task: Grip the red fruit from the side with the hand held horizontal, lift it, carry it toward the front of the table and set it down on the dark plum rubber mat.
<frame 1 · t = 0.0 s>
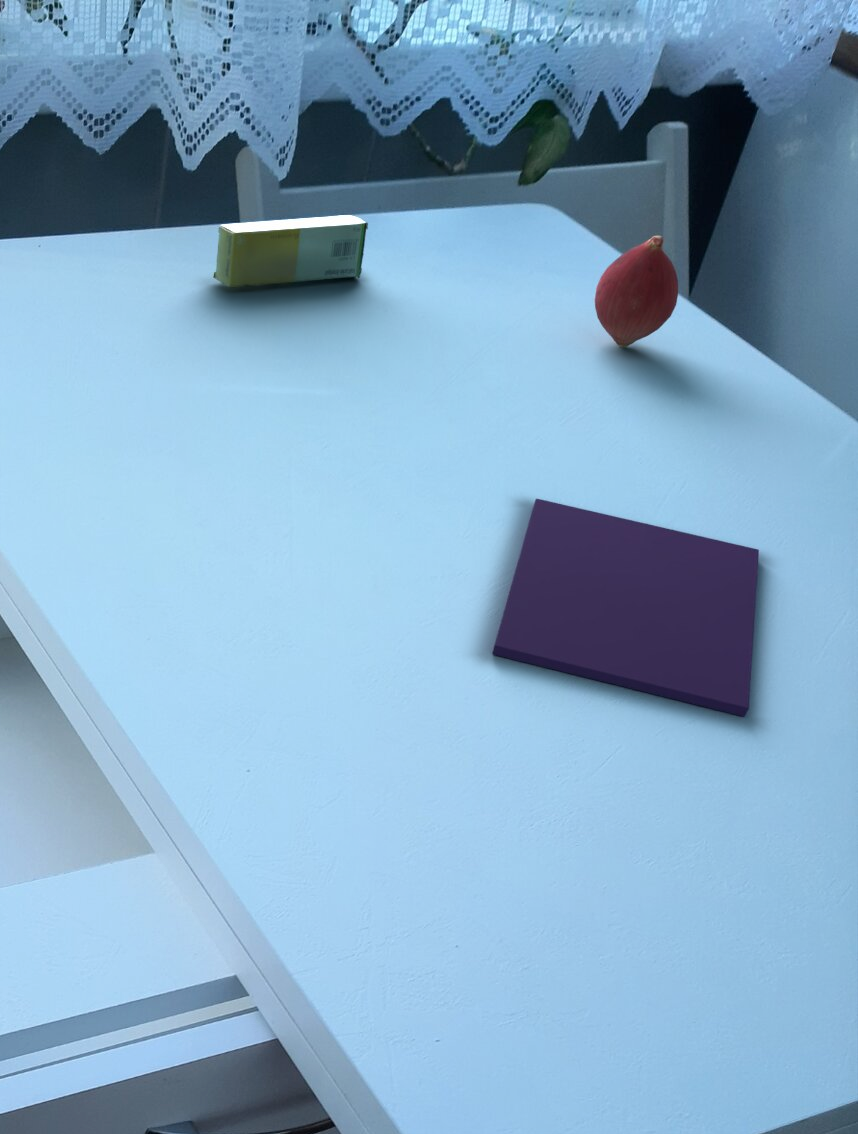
mat: (630, 603, 90), on the table
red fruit: (619, 347, 115), on the table
medication box: (286, 282, 119), on the table
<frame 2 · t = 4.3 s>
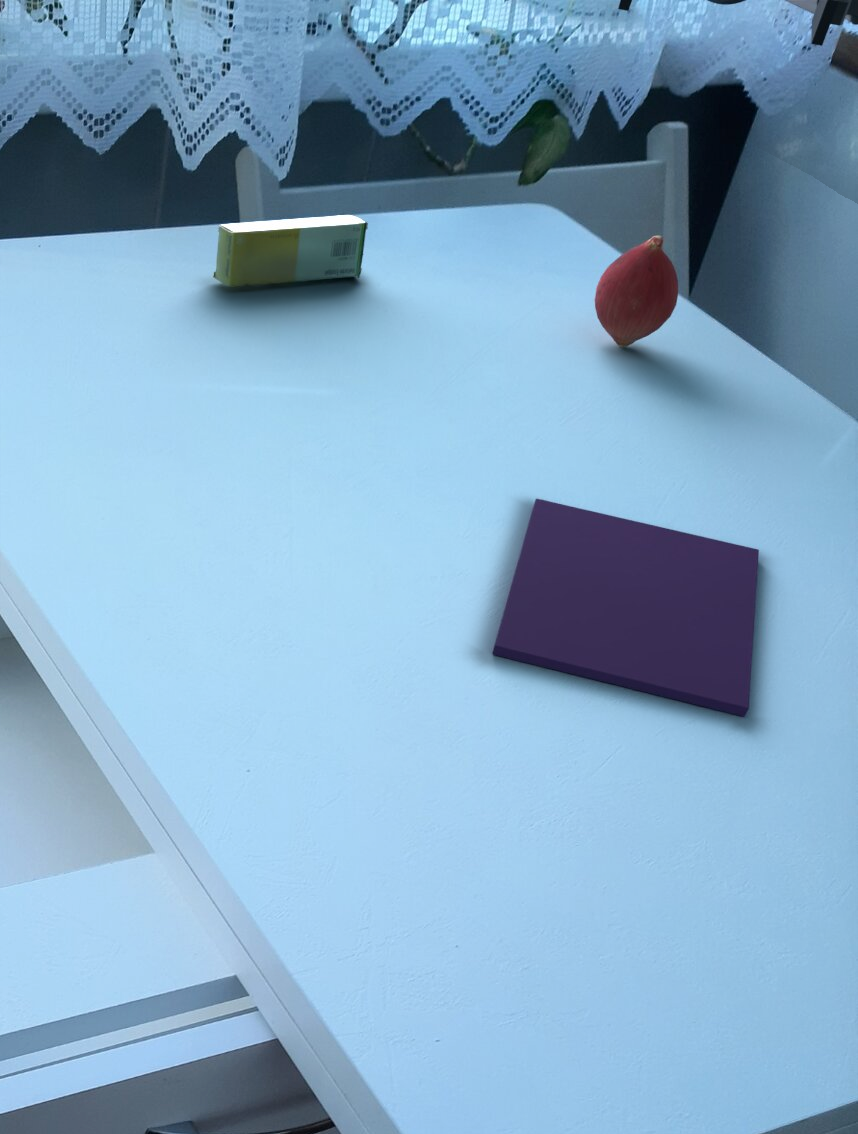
hand: (726, 5, 107), 20 cm above the table, tool horizontal, fingers open, 13 cm apart
nothing on the table moved.
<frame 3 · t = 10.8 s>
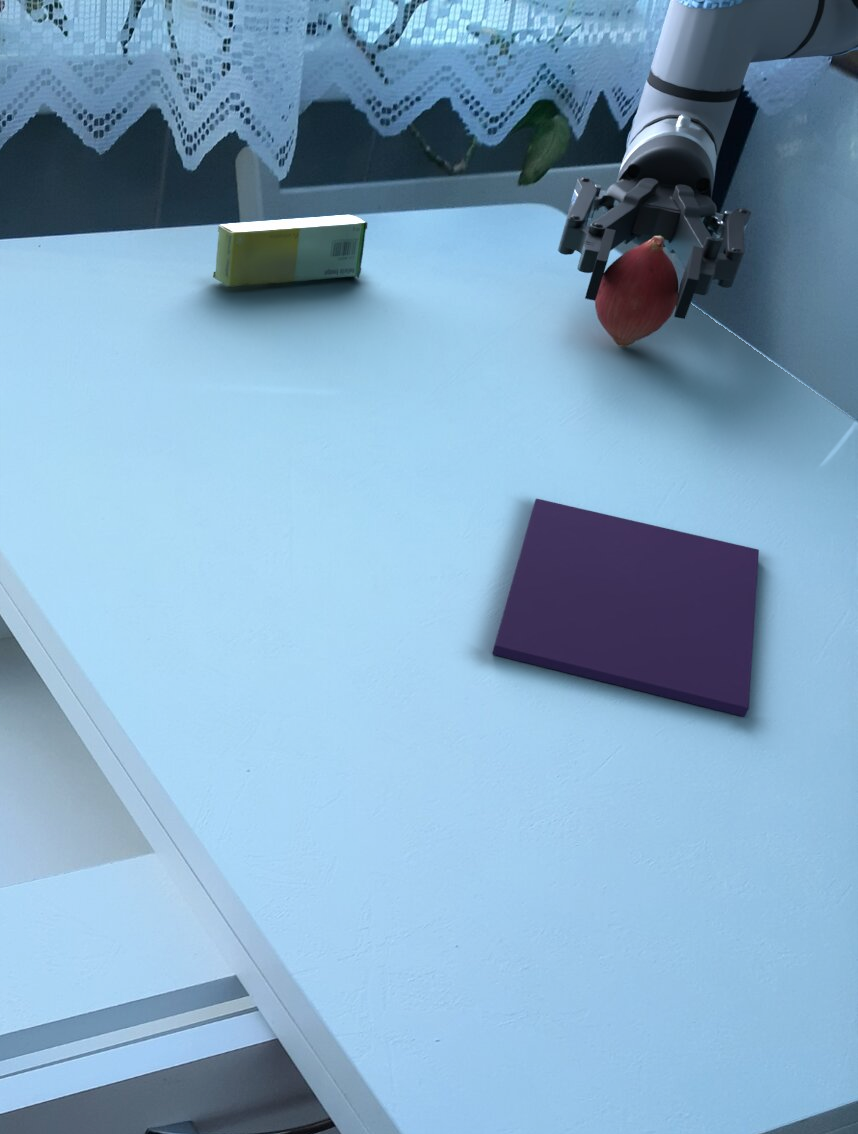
hand: (640, 289, 107), 6 cm above the table, tool horizontal, fingers closed on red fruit, 6 cm apart
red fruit: (619, 347, 115), on the table, touching gripper
everything else where it was.
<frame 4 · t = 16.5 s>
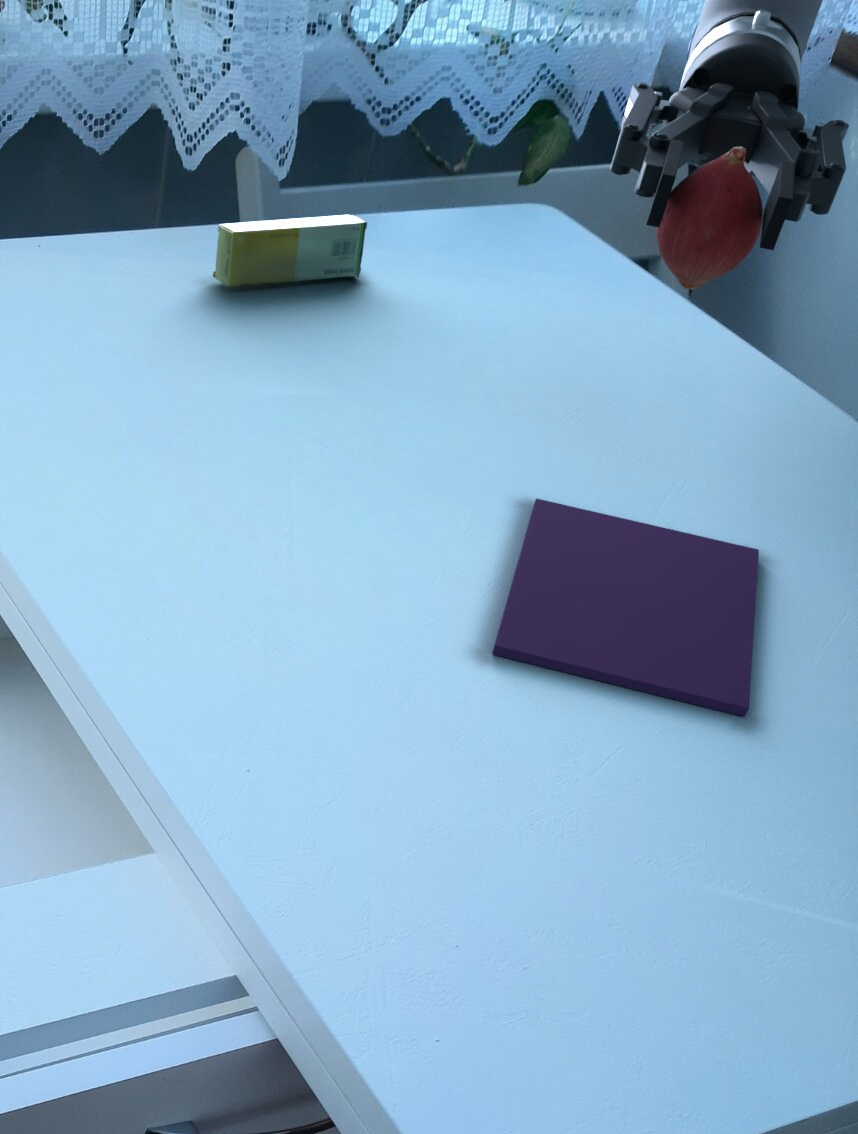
hand: (718, 212, 85), 18 cm above the table, tool horizontal, fingers closed on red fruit, 6 cm apart
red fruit: (685, 291, 93), point 12 cm above the table, touching gripper
everything else where it was.
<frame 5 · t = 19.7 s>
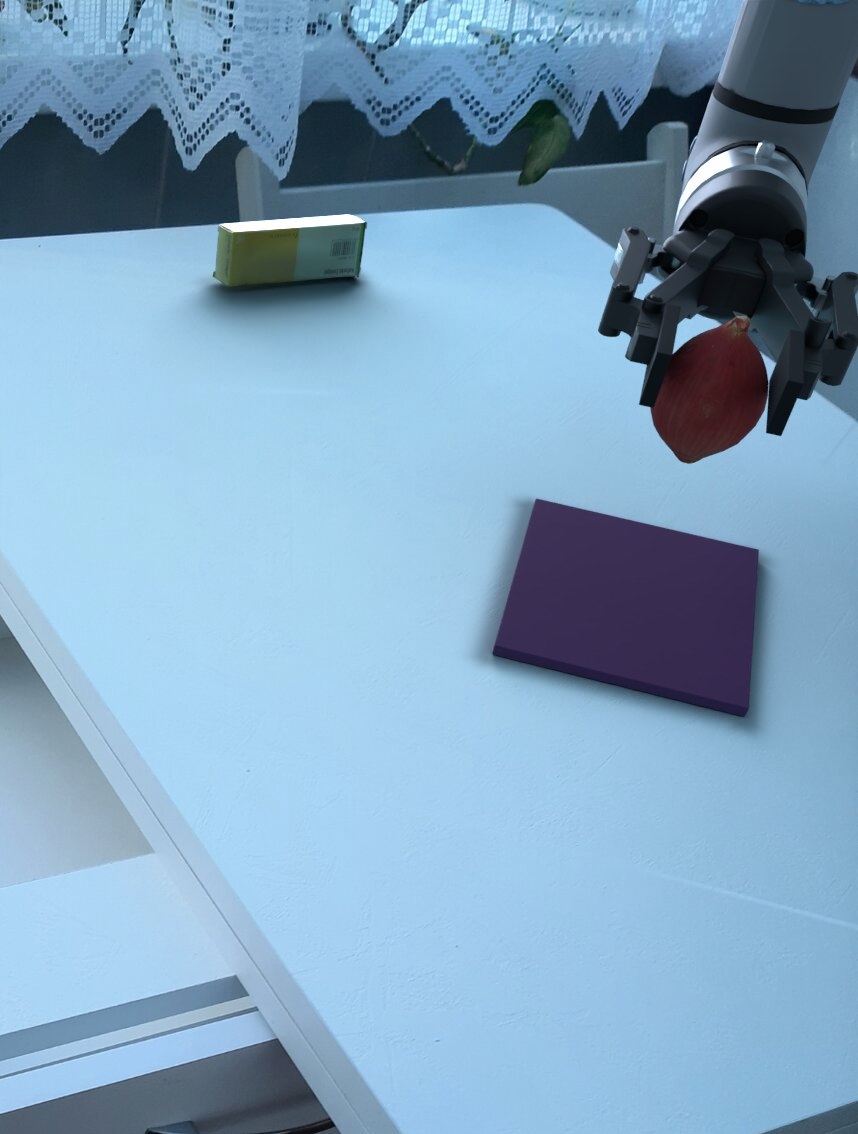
hand: (719, 394, 76), 15 cm above the table, tool horizontal, fingers closed on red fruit, 6 cm apart
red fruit: (682, 464, 84), point 9 cm above the table, touching gripper
everything else where it was.
when the fingers open (7 cm above the table, at t = 22.3 s): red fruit stays where it is, resting on mat.
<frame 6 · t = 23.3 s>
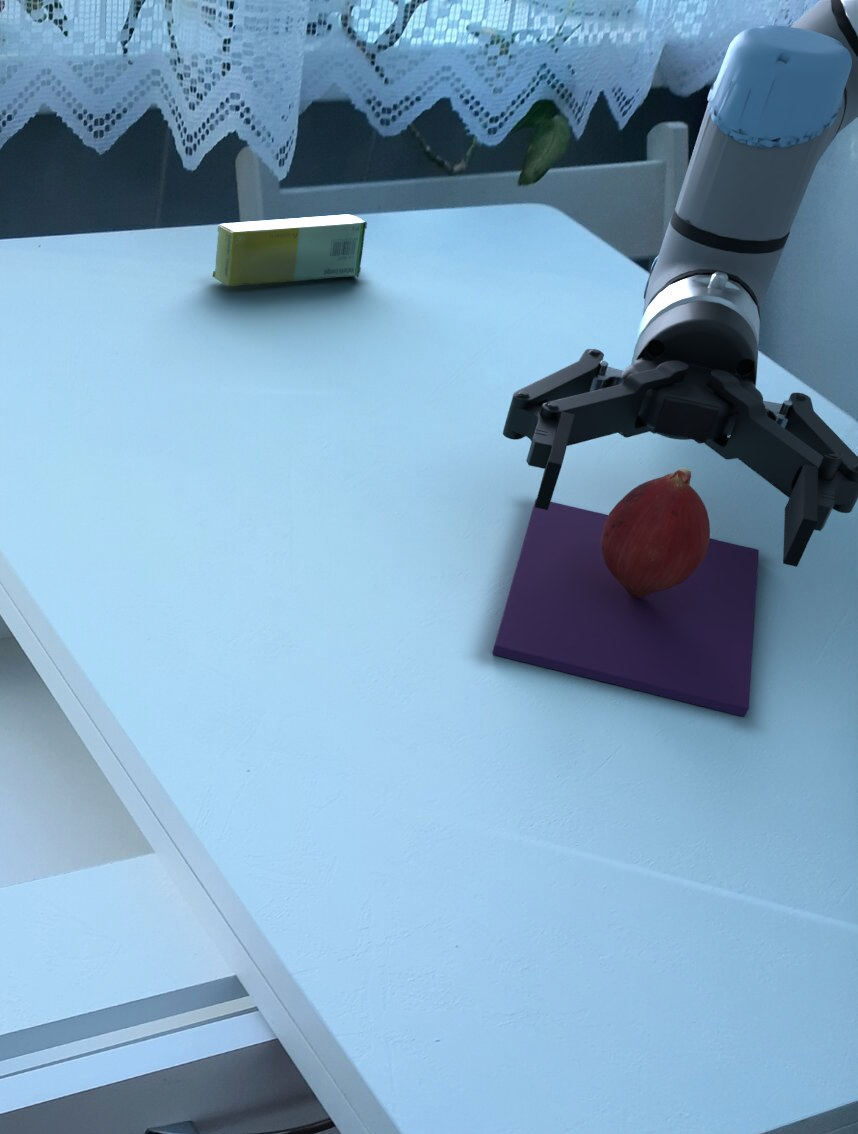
hand: (672, 514, 82), 7 cm above the table, tool horizontal, fingers open, 13 cm apart
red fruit: (632, 597, 90), resting on mat
everything else where it was.
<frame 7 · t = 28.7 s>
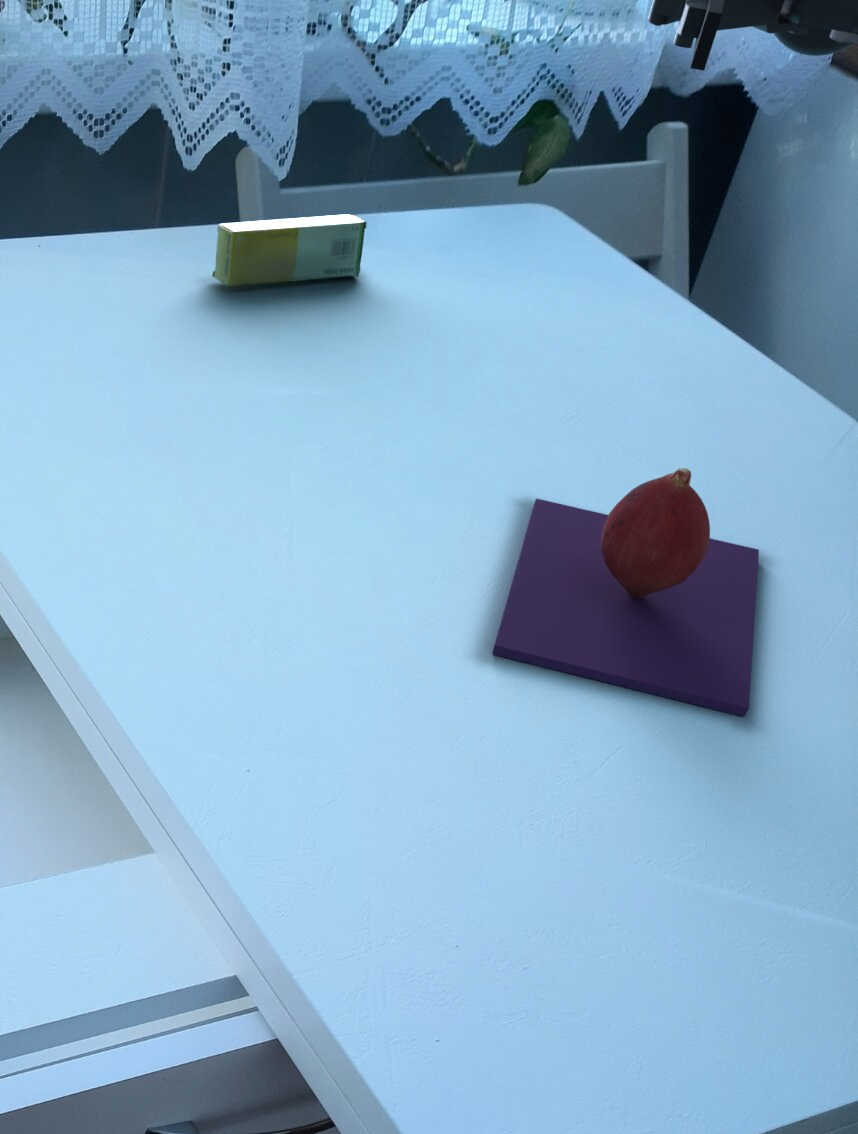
hand: (834, 64, 81), 25 cm above the table, tool horizontal, fingers open, 13 cm apart
nothing on the table moved.
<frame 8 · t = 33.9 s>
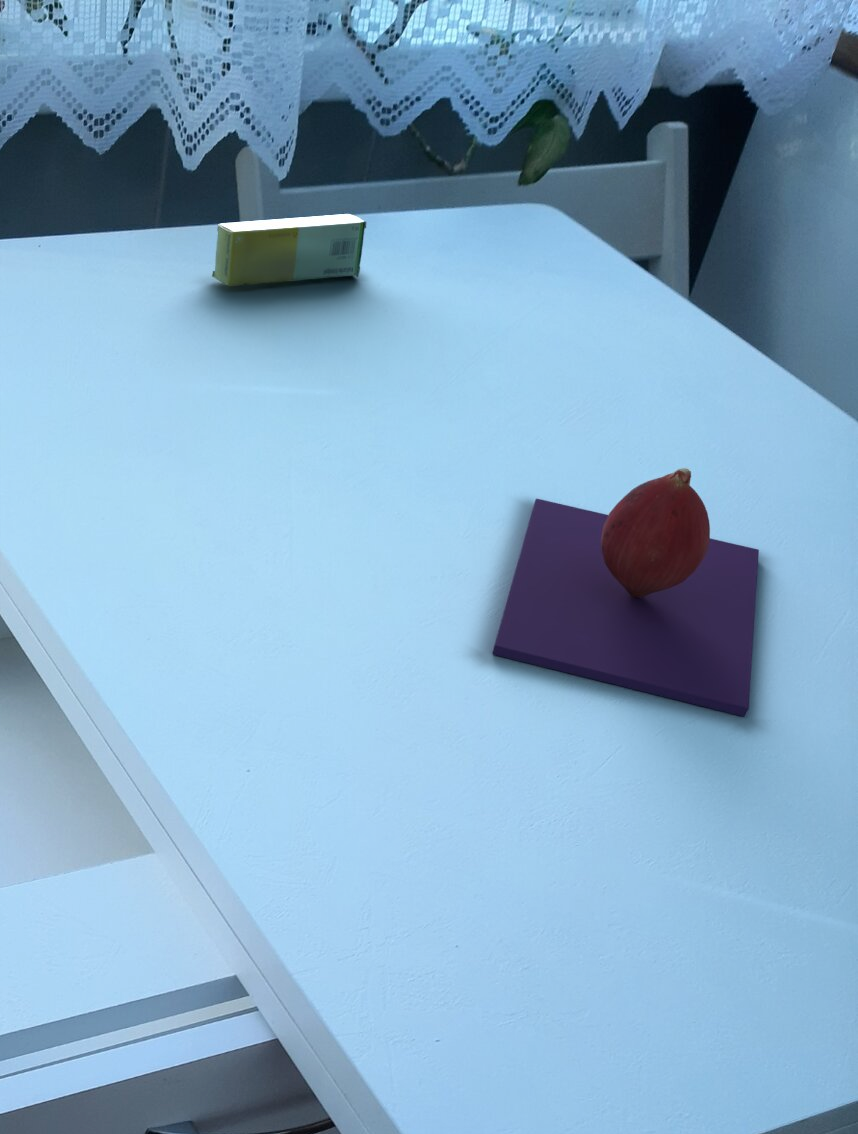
nothing on the table moved.
at the end: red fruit inside the target area on the mat (0.0 cm from its centre), point 0.4 cm above the mat's base; the gripper is holding nothing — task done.
